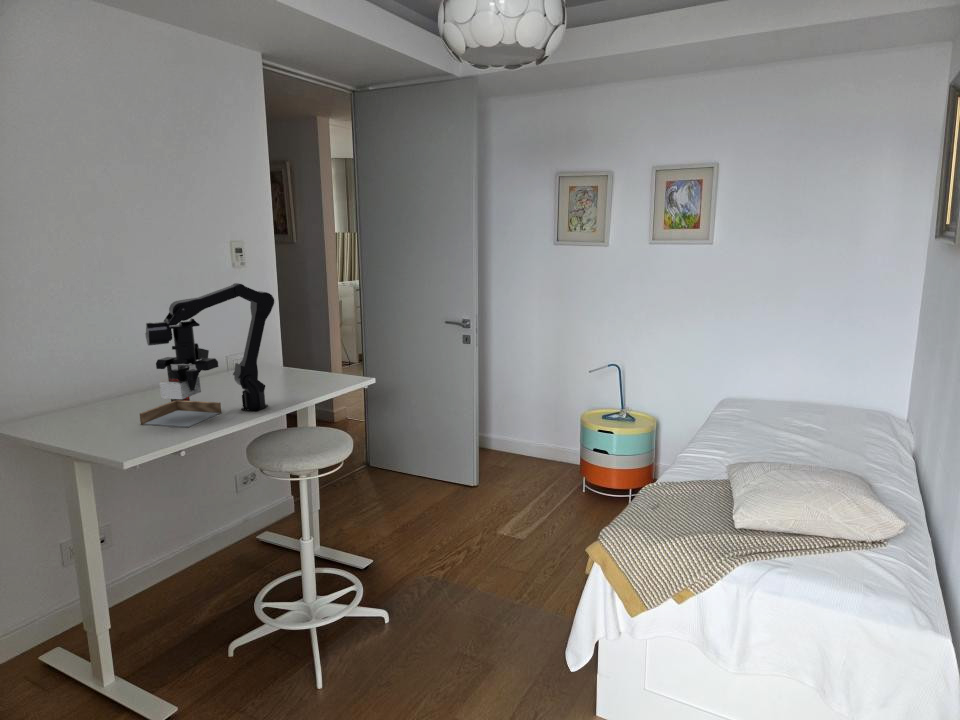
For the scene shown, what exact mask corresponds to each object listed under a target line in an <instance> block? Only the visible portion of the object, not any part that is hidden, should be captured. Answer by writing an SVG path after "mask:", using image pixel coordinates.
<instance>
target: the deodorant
mask: <svg viewBox="0 0 960 720" xmlns="http://www.w3.org/2000/svg"><path fill="white" fill-rule="evenodd" d="M182 364H185V363H182ZM185 367H186V366H185ZM170 370H172V368H171V366H167V367H166V371H167V380H168V382H180V381H179V380H178V378H177V377H176V376H175V375H174V374H173V372H170ZM175 400H182V401H191V399H190V396H189V397H187V398H184V399H170V402H172V401H175Z"/></svg>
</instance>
